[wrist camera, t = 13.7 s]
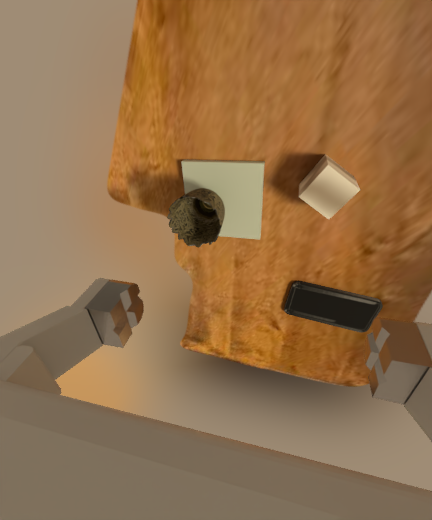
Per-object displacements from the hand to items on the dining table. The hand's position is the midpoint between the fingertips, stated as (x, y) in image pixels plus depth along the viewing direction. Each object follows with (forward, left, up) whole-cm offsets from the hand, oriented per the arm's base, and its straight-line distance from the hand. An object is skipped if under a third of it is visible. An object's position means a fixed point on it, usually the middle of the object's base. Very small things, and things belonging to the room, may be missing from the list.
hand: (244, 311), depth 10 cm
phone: (+29, +10, -34) cm, 46 cm away
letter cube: (+6, +6, -33) cm, 34 cm away
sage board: (+10, -9, -33) cm, 36 cm away
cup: (+10, -11, -32) cm, 35 cm away
